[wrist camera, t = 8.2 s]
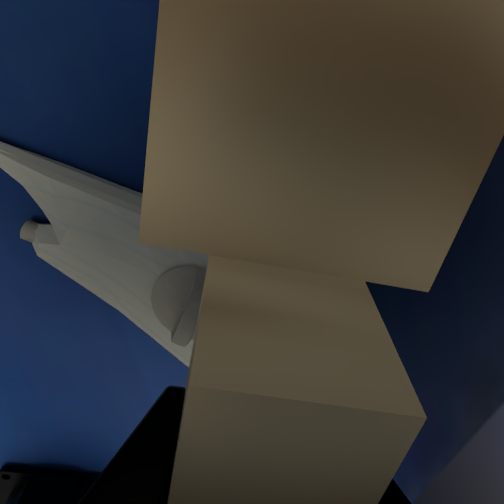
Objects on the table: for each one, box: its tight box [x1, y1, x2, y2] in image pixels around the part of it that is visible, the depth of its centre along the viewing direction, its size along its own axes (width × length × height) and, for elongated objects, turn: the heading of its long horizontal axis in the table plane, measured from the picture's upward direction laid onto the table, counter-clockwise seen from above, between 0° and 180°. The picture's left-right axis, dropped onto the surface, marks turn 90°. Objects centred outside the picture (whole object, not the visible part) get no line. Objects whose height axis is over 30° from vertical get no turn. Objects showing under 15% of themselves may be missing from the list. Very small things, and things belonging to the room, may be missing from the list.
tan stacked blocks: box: [138, 0, 504, 504], centre depth 7 cm, size 14×6×4 cm, turn 168°
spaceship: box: [0, 141, 209, 367], centre depth 18 cm, size 23×7×4 cm, turn 45°
